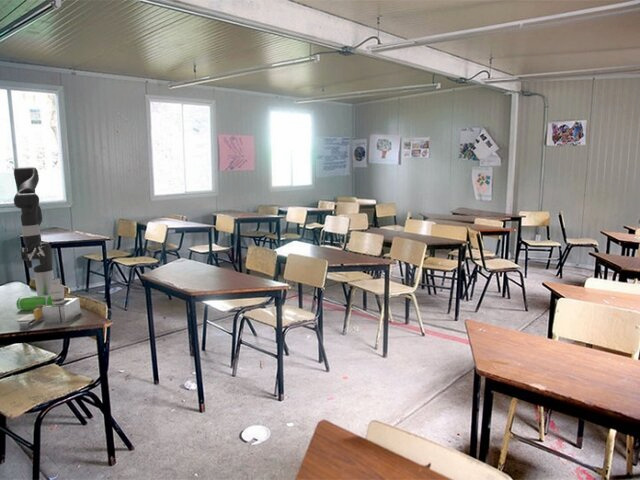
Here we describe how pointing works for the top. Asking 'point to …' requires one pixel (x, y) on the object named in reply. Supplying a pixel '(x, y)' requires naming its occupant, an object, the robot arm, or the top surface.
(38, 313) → the orange rounded block
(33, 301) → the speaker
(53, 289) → the plastic bottle
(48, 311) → the small white box
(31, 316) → the mat
